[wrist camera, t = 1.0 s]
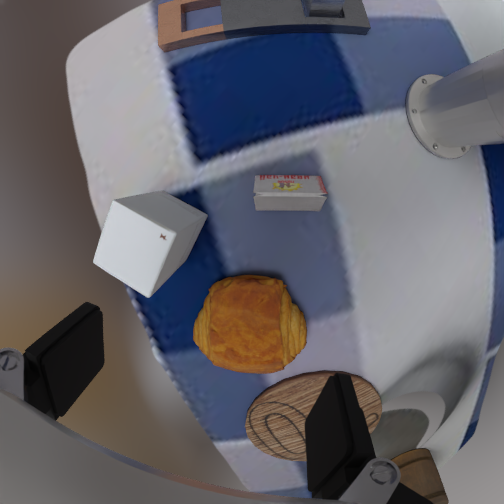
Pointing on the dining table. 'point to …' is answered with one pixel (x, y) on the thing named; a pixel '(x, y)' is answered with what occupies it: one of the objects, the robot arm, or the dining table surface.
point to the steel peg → (323, 8)
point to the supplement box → (147, 239)
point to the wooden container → (421, 475)
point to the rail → (252, 20)
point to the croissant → (250, 325)
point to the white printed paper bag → (289, 192)
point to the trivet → (299, 412)
